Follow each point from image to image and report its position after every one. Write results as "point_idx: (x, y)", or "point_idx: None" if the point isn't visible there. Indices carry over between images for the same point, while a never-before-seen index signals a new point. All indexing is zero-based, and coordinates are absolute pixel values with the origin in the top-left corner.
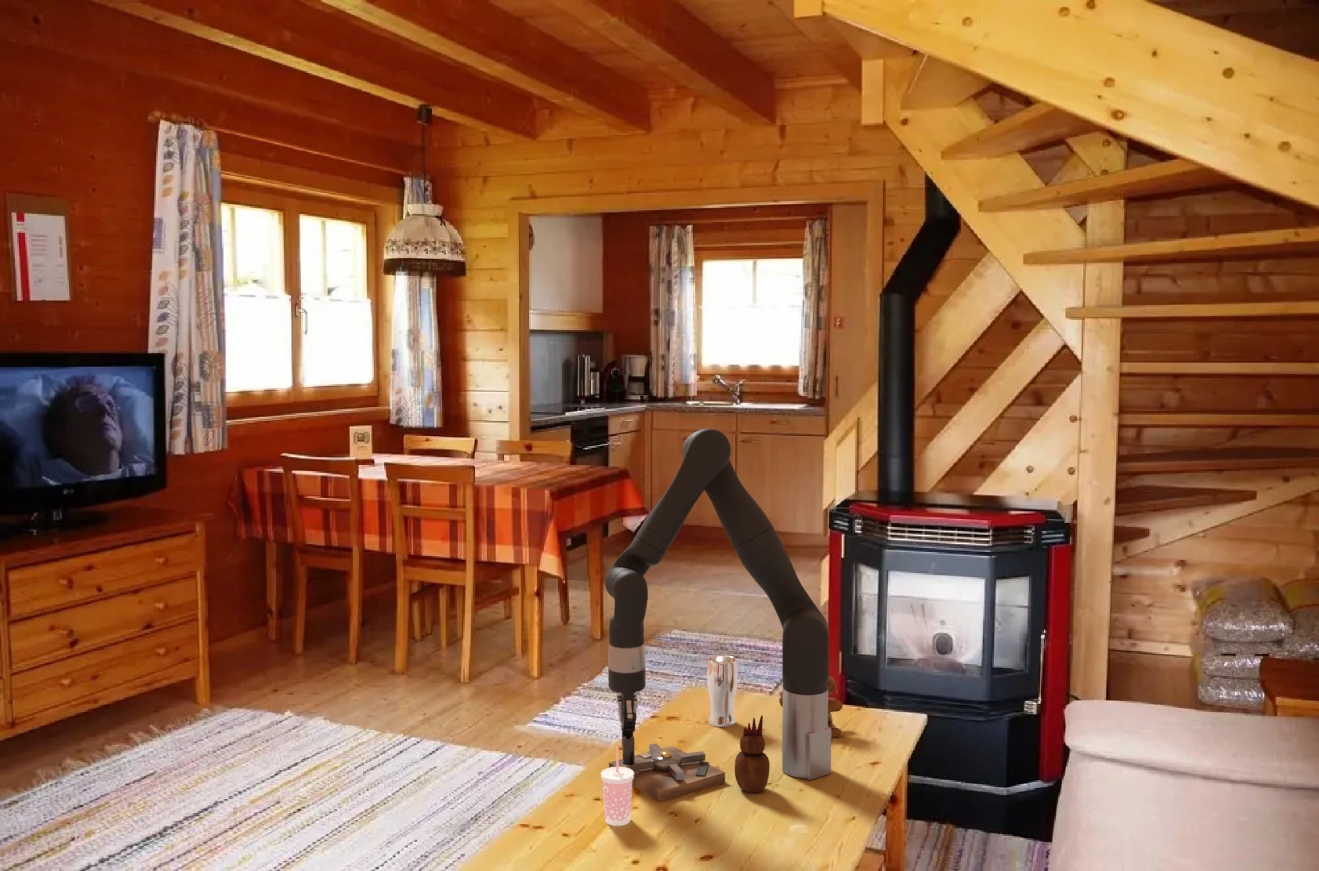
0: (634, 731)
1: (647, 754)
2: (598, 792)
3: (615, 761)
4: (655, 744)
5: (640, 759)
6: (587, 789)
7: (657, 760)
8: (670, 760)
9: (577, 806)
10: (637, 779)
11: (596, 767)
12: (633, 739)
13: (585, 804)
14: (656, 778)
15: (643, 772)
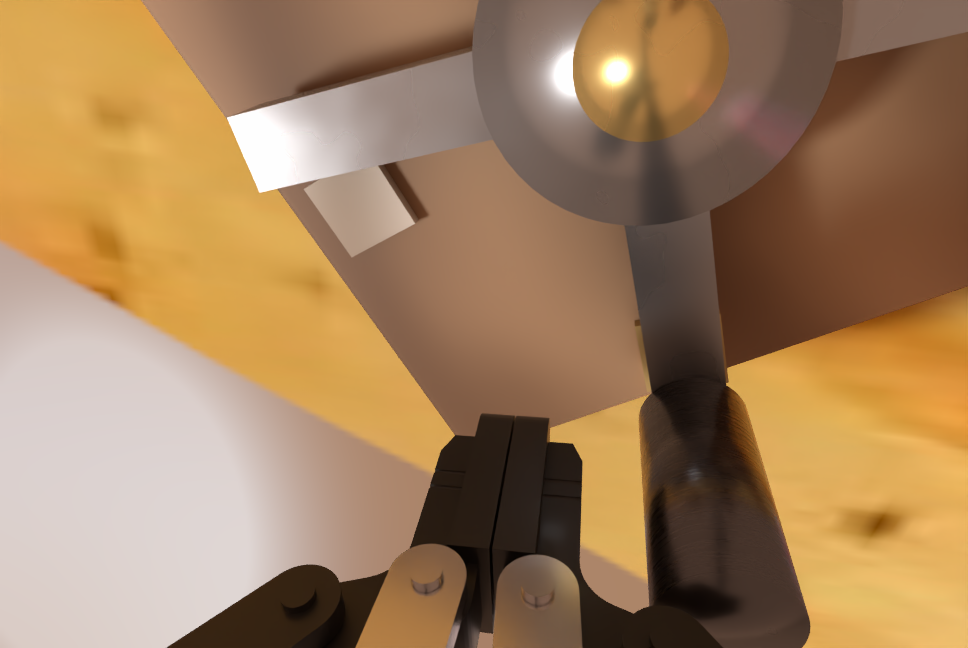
0: (697, 624)
1: (345, 192)
2: (779, 504)
3: (453, 418)
4: (258, 132)
5: (425, 253)
6: None
7: (741, 177)
8: (790, 16)
9: (937, 614)
10: (835, 329)
11: (404, 459)
12: (786, 586)
13: (929, 582)
14: (893, 176)
15: None
